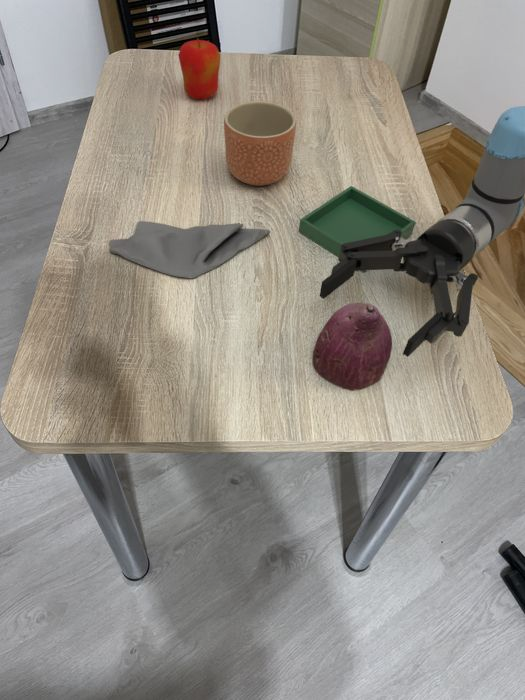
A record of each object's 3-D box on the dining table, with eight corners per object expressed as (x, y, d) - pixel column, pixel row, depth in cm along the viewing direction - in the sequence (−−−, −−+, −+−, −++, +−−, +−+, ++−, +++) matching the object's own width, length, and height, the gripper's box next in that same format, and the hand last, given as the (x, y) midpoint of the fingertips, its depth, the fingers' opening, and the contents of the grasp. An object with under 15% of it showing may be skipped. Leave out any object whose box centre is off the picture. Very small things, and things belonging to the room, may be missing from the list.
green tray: (412, 234, 91) (416, 221, 89) (363, 272, 85) (366, 260, 83) (348, 197, 97) (351, 185, 95) (298, 231, 91) (300, 219, 88)
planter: (291, 157, 104) (296, 101, 96) (291, 196, 96) (296, 139, 88) (227, 153, 104) (226, 98, 95) (222, 192, 96) (221, 135, 88)
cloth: (100, 277, 82) (97, 266, 80) (115, 219, 90) (112, 208, 89) (271, 281, 83) (271, 271, 81) (269, 224, 91) (270, 213, 90)
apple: (197, 109, 114) (194, 50, 105) (173, 93, 118) (168, 35, 108) (228, 97, 118) (228, 39, 108) (204, 82, 121) (202, 25, 112)
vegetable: (377, 404, 74) (421, 365, 60) (304, 387, 73) (331, 344, 59) (385, 336, 78) (428, 285, 64) (316, 319, 77) (344, 264, 64)
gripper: (519, 305, 76) (438, 393, 66) (377, 223, 86) (288, 288, 76) (543, 266, 70) (458, 356, 60) (388, 182, 80) (293, 247, 70)
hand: (363, 318), depth 68 cm, fingers open, 13 cm apart
